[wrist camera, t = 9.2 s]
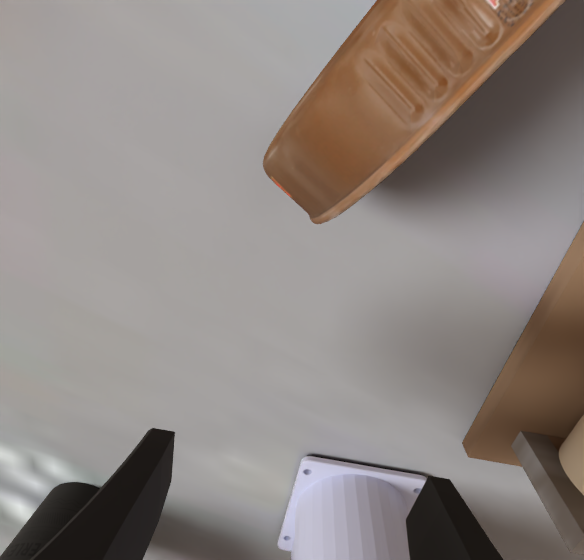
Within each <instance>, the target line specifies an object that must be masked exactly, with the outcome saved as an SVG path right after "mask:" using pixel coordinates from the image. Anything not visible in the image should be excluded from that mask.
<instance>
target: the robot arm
mask: <svg viewBox="0 0 584 560" xmlns="http://www.w3.org/2000/svg"><path fill="white" fill-rule="evenodd" d="M174 436H175V432H172V431H167V430H161V429H155V428H152V429H150V430H149V431H148V432H147V433H146V435H145V436H144V437H143V439H142V440H141V441H140V443H139V444H138V445H137V446H136V448H135V449H134V450H133V451H132V453H131V454H130V455H129V456H128V458H127V459H126V460H125V461H124V462H123V463H122V465H121V466H120V467H119V468H118V469H117V471H116V472H115V473H114V474H113V475H112V476H111V477H110V478H109V480H108V481H107V482H106V483H105V484H104V485H103V486H102V487H101V488H100V490H99V491H98V492H97V493H96V494H95V495H94V496H93V497H92V498H91V499H90V500H89V502H88V503H87V504H86V505H85V506H84V507H83V508H82V509H81V510H80V511H79V512H78V513H77V514H76V515H75V516H74V517H73V518H72V519H71V520H70V521H69V522H68V523H67V524H66V525H65V526H64V527H63V528H62V529H61V530H60V531H59V532H58V533H57V534H56V535H55V536H54V537H53V538H52V539H51V540H50V541H49V542H48V543H47V544H46V545H45V546H44V547H43V548H42V549H41V550H39V551H38V552H37V553H36V554H35V555H34V556H33V557H32V558H31V559H30V560H142V559H143V557H144V555H145V552H146V550H147V548H148V545H149V543H150V540H151V538H152V536H153V533H154V531H155V528H156V526H157V523H158V521H159V518H160V515H161V512H162V509H163V506H164V502H165V499H166V496H167V493H168V489H169V486H170V483H171V478H172V464H173V450H174ZM278 547H279V548H280V549H281V550H286V551H291V560H503V558H502V557H501V556H500V554H499V553H498V551H497V550H496V548H495V547H494V545H493V544H492V543H491V541H490V540H489V538H488V537H487V535H486V534H485V532H484V531H483V529H482V528H481V526H480V525H479V523H478V522H477V520H476V519H475V517H474V516H473V514H472V513H471V511H470V509H469V508H468V506H467V505H466V503H465V502H464V500H463V499H462V497H461V496H460V494H459V493H458V491H457V490H456V488H455V487H454V485H453V484H452V482H451V481H450V479H444V478H438V477H433V476H428V478H426V477H425V476H422V475H417V474H411V473H405V472H400V471H394V470H388V469H382V468H377V467H371V466H365V465H359V464H353V463H348V462H342V461H336V460H330V459H324V458H319V457H313V456H306V457H304V458H302V460H301V463H300V467H299V470H298V473H297V477H296V480H295V484H294V487H293V491H292V494H291V497H290V501H289V504H288V508H287V511H286V514H285V518H284V521H283V525H282V528H281V532H280V535H279V538H278Z"/></svg>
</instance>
